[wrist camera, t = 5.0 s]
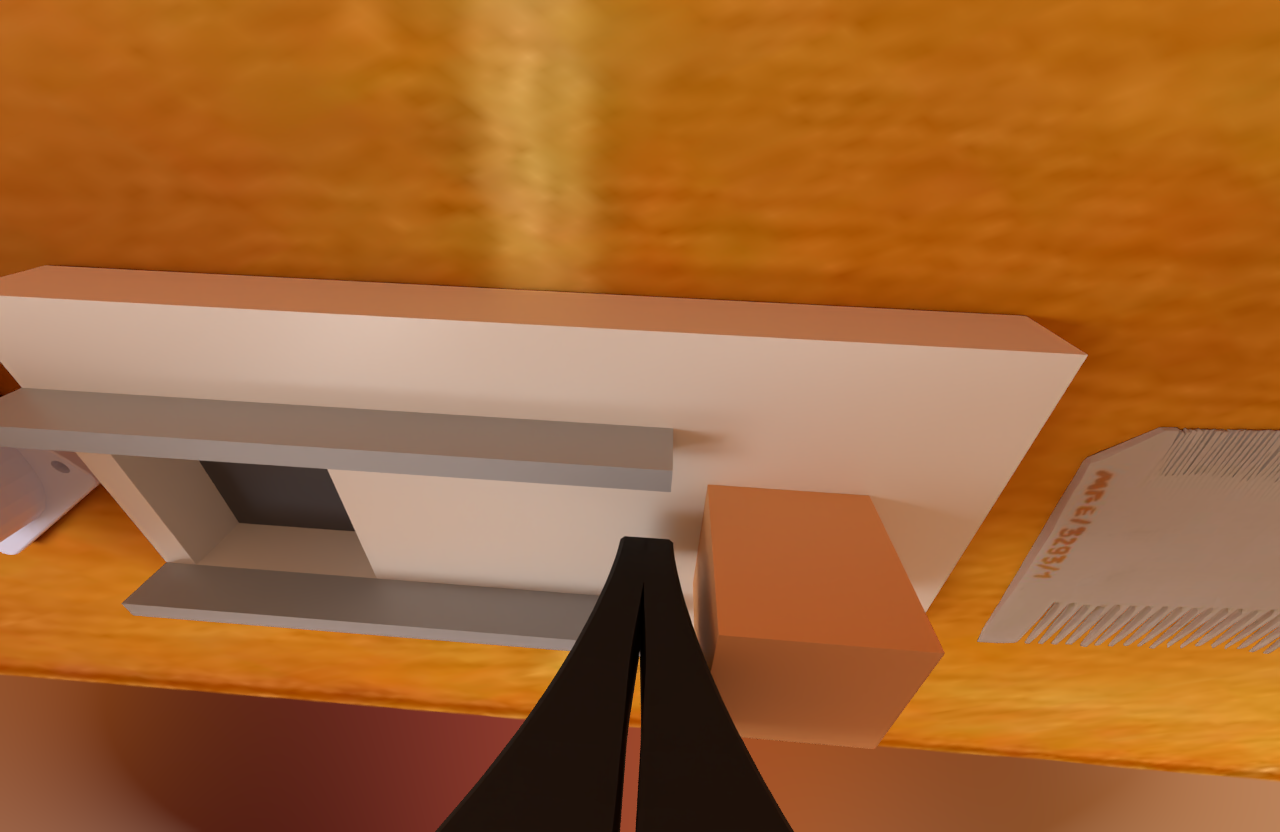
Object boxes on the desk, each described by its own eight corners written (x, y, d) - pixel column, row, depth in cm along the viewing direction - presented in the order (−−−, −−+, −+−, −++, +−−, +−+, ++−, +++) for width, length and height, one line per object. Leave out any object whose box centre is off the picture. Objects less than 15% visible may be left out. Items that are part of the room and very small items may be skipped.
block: (692, 583, 14) (697, 733, 11) (707, 484, 12) (718, 635, 8) (828, 594, 14) (874, 749, 11) (869, 495, 12) (945, 653, 8)
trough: (253, 570, 19) (175, 657, 16) (45, 265, 12) (-160, 319, 9) (869, 617, 18) (906, 719, 15) (1025, 315, 11) (1151, 394, 8)
